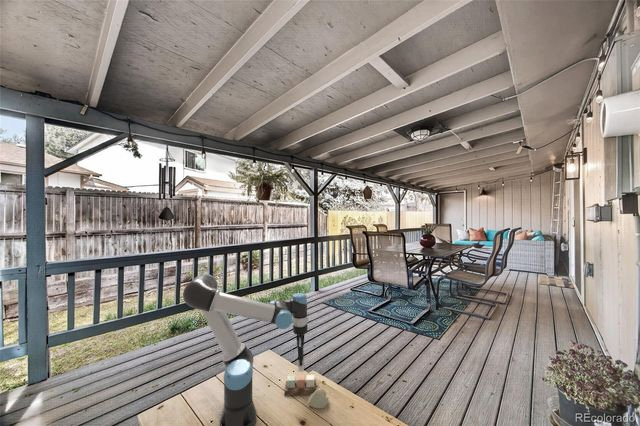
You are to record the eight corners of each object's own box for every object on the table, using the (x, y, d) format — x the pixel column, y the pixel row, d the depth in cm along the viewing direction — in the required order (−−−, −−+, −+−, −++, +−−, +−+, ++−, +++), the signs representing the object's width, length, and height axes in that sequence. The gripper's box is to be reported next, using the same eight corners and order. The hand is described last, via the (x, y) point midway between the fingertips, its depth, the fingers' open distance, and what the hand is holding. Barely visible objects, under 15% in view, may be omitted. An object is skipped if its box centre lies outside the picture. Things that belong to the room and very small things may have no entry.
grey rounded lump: (333, 401, 113) (320, 398, 109) (322, 414, 114) (309, 412, 110) (327, 384, 120) (315, 381, 116) (317, 397, 121) (304, 394, 117)
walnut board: (284, 395, 121) (284, 390, 121) (286, 384, 129) (286, 380, 129) (316, 393, 121) (316, 389, 121) (316, 383, 129) (316, 379, 129)
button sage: (286, 387, 123) (286, 380, 123) (287, 382, 127) (287, 375, 127) (294, 387, 123) (294, 380, 123) (295, 382, 127) (295, 375, 127)
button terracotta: (296, 387, 123) (296, 380, 123) (297, 382, 127) (297, 375, 127) (304, 387, 123) (304, 380, 123) (304, 382, 127) (304, 375, 127)
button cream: (306, 387, 123) (306, 379, 123) (306, 382, 127) (306, 375, 127) (314, 386, 123) (314, 379, 123) (314, 381, 127) (314, 374, 127)
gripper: (307, 329, 120) (308, 378, 119) (307, 319, 133) (308, 363, 132) (291, 330, 120) (292, 379, 119) (293, 319, 133) (294, 363, 132)
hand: (301, 370), depth 125 cm, fingers closed
